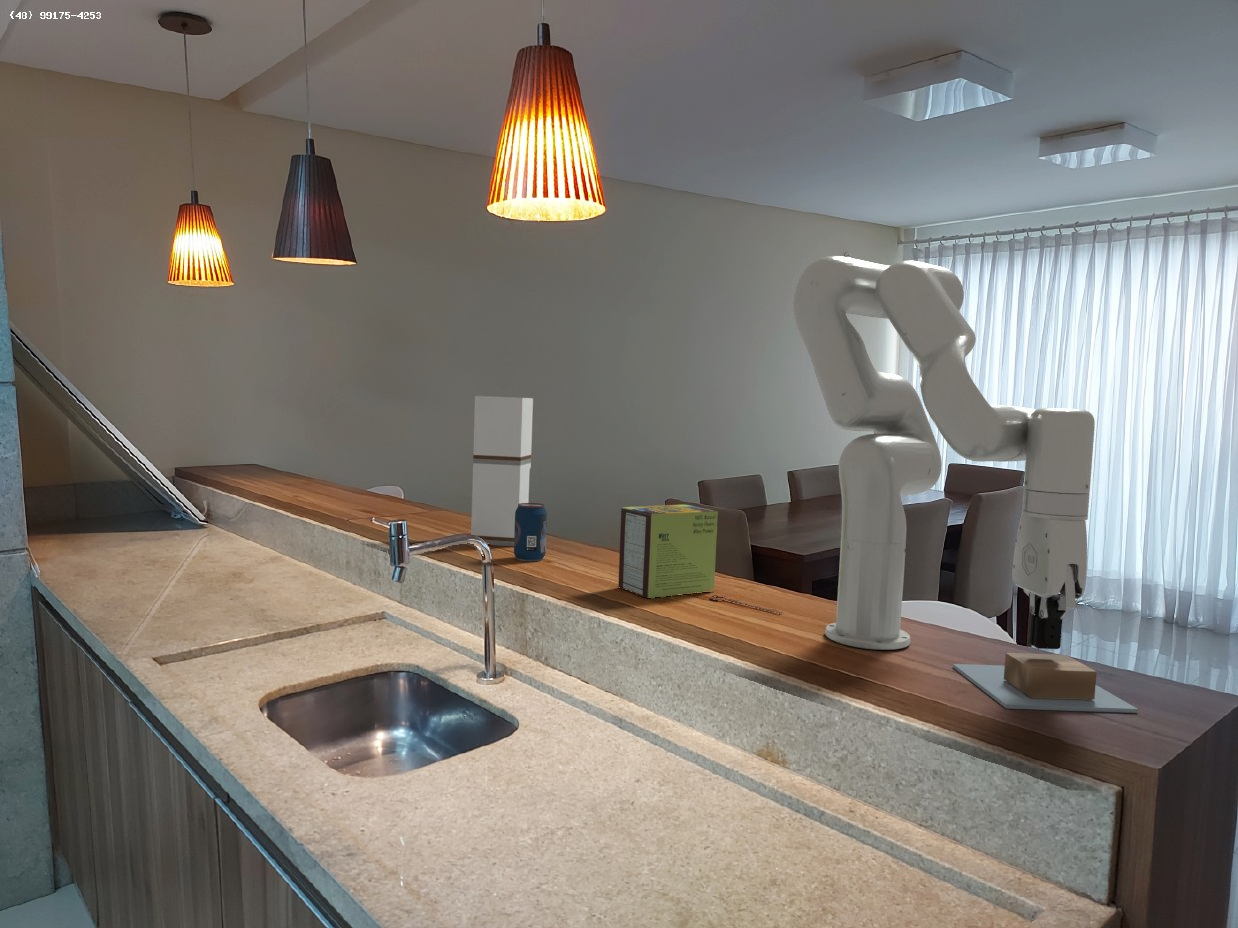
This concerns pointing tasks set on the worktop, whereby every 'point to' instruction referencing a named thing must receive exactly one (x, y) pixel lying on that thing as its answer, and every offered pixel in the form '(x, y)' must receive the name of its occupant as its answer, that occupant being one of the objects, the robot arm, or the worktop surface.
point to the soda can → (530, 532)
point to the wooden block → (1050, 676)
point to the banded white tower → (500, 465)
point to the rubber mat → (1013, 698)
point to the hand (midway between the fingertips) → (1044, 646)
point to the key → (745, 604)
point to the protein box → (667, 550)
